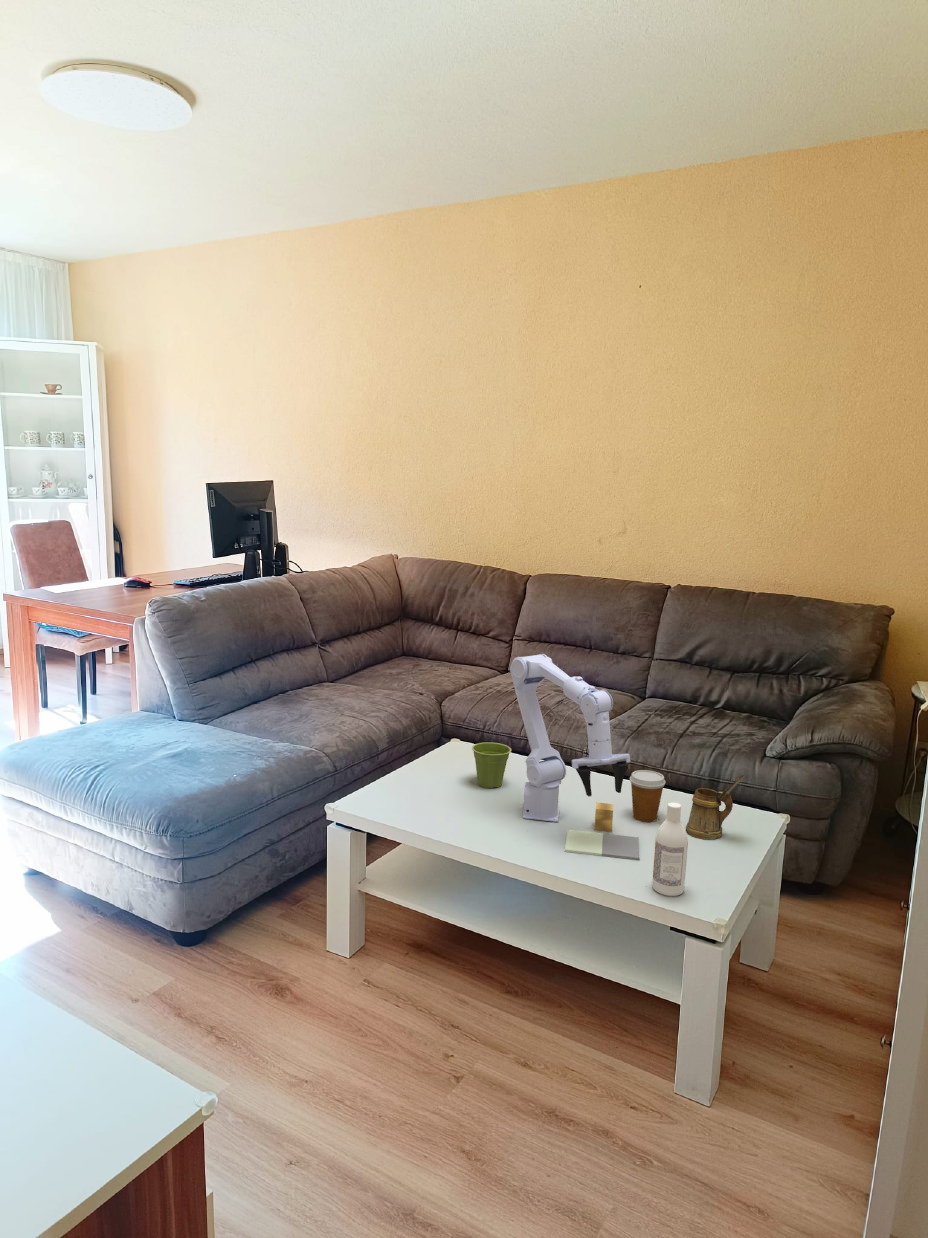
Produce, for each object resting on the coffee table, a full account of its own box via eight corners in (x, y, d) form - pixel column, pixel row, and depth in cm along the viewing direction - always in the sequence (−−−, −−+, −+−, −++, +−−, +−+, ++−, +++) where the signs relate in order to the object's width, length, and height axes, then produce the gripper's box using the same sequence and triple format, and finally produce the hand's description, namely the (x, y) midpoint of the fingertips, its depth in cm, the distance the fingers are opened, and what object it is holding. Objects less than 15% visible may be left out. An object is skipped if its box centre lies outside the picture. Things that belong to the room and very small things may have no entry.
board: (564, 851, 197) (564, 849, 197) (567, 831, 208) (567, 829, 208) (639, 860, 194) (639, 858, 193) (638, 839, 205) (638, 837, 205)
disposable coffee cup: (663, 826, 214) (666, 783, 212) (627, 822, 216) (629, 779, 214) (661, 812, 223) (665, 771, 221) (627, 809, 225) (629, 768, 223)
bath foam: (660, 878, 185) (667, 796, 181) (689, 889, 180) (696, 804, 177) (646, 889, 179) (652, 804, 176) (675, 900, 175) (682, 813, 172)
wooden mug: (732, 848, 202) (739, 780, 199) (680, 833, 210) (686, 767, 207) (743, 836, 209) (749, 770, 206) (692, 822, 217) (697, 759, 214)
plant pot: (510, 792, 234) (512, 755, 233) (470, 791, 234) (471, 754, 233) (509, 778, 246) (510, 742, 244) (470, 776, 246) (471, 741, 244)
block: (594, 830, 210) (595, 808, 209) (594, 823, 214) (596, 802, 213) (611, 832, 209) (613, 810, 208) (611, 825, 213) (613, 804, 212)
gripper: (575, 745, 195) (580, 800, 195) (632, 739, 197) (637, 794, 197) (567, 740, 202) (572, 794, 202) (622, 734, 204) (627, 788, 204)
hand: (603, 793), depth 200 cm, fingers open, 7 cm apart
